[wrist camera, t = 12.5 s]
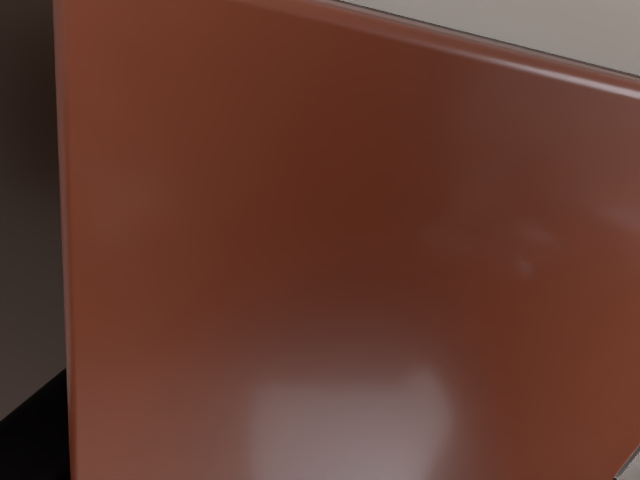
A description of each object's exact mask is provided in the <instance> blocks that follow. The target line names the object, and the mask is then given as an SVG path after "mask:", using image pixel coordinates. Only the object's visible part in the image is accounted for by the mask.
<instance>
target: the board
mask: <svg viewBox="0 0 640 480" xmlns="http://www.w3.org/2000/svg"><path fill="white" fill-rule="evenodd" d="M333 1H337V2H341V3H345V4H349V5H353V6H357V7H361V8H365V9H369V10H373V11H377V12H381V13H385V14H389V15H393V16H397V17H401V18H405V19H409V20H413V21H417V22H421V23H425V24H429V25H433V26H437V27H441V28H445V29H449V30H453V31H457V32H461V33H465V34H469V35H473V36H477V37H481V38H485V39H489V40H493V41H497V42H501V43H505V44H509V45H513V46H517V47H521V48H525V49H528V50H532V51H536V52H540V53H544V54H548V55H551V56H555V57H559V58H563V59H567V60H571V61H574V62H578V63H582V64H586V65H590V66H594V67H597V68H601V69H605V70H609V71H613V72H617V73H621V74H624V75H628V76H632V77H636V78H640V76H638V75H634V74H630V73H626V72H622V71H618V70H614V69H610V68H606V67H602V66H598V65H594V64H590V63H586V62H582V61H578V60H574V59H570V58H566V57H562V56H558V55H554V54H550V53H546V52H542V51H539V50H535V49H531V48H527V47H523V46H519V45H515V44H511V43H507V42H503V41H499V40H495V39H491V38H487V37H483V36H479V35H475V34H471V33H467V32H463V31H459V30H455V29H451V28H447V27H443V26H440V25H436V24H432V23H428V22H424V21H420V20H416V19H412V18H408V17H404V16H400V15H396V14H392V13H388V12H384V11H380V10H376V9H372V8H368V7H364V6H360V5H356V4H352V3H348V2H344V1H341V0H333ZM65 368H66V348H65V321H64V294H63V268H62V241H61V215H60V188H59V161H58V135H57V108H56V81H55V55H54V28H53V1H52V0H0V421H1V420H2V419H3V418H5V417H6V416H7V415H8V414H10V413H11V412H12V411H13V410H14V409H16V408H17V407H18V406H19V405H21V404H22V403H23V402H24V401H25V400H27V399H28V398H29V397H30V396H32V395H33V394H34V393H35V392H36V391H38V390H39V389H40V388H41V387H43V386H44V385H45V384H46V383H47V382H49V381H50V380H51V379H52V378H54V377H55V376H56V375H57V374H58V373H60V372H61V371H62V370H63V369H65ZM639 451H640V446H639V447H638V448H637V450H636V451H635V452H634V453H633V455H632V456H631V457H630V458H629V460H628V461H627V462H626V463H625V465H624V466H623V467H622V468H621V470H620V471H619V472H618V474H617V475H616V476H615V477H618V476H620V475H621V474H622V473H623V471H624V470H625V469H626V468H627V466H628V465H629V464H630V463H631V461H632V460H633V459H634V458H635V456H636V455H637V454H638V453H639Z"/></svg>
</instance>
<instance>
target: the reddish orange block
mask: <svg viewBox="0 0 640 480" xmlns="http://www.w3.org/2000/svg"><path fill="white" fill-rule="evenodd" d="M52 1H53V28H54V55H55V81H56V108H57V135H58V161H59V188H60V215H61V241H62V268H63V294H64V321H65V348H66V374H67V401H68V428H69V454H70V480H613V479H614V477H615V476H616V475H617V474H618V472H619V471H620V470H621V468H622V467H623V466H624V465H625V463H626V462H627V461H628V460H629V458H630V457H631V456H632V455H633V453H634V452H635V451H636V450H637V448H638V447H639V446H640V78H636V77H632V76H628V75H624V74H621V73H617V72H613V71H609V70H605V69H601V68H597V67H594V66H590V65H586V64H582V63H578V62H574V61H571V60H567V59H563V58H559V57H555V56H551V55H548V54H544V53H540V52H536V51H532V50H528V49H525V48H521V47H517V46H513V45H509V44H505V43H501V42H497V41H493V40H489V39H485V38H481V37H477V36H473V35H469V34H465V33H461V32H457V31H453V30H449V29H445V28H441V27H437V26H433V25H429V24H425V23H421V22H417V21H413V20H409V19H405V18H401V17H397V16H393V15H389V14H385V13H381V12H377V11H373V10H369V9H365V8H361V7H357V6H353V5H349V4H345V3H341V2H337V1H333V0H52Z"/></svg>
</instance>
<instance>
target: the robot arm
mask: <svg viewBox="0 0 640 480" xmlns="http://www.w3.org/2000/svg"><path fill="white" fill-rule="evenodd" d="M0 480H70V454H69V428H68V401H67V374H66V368H65V369H63V370H62V371H61V372H60V373H58V374H57V375H56V376H55V377H54V378H52V379H51V380H50V381H49V382H47V383H46V384H45V385H44V386H43V387H41V388H40V389H39V390H38V391H36V392H35V393H34V394H33V395H32V396H30V397H29V398H28V399H27V400H25V401H24V402H23V403H22V404H21V405H19V406H18V407H17V408H16V409H14V410H13V411H12V412H11V413H10V414H8V415H7V416H6V417H5V418H3V419H2V420H1V421H0ZM613 480H617V479H615V478H614V479H613Z"/></svg>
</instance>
